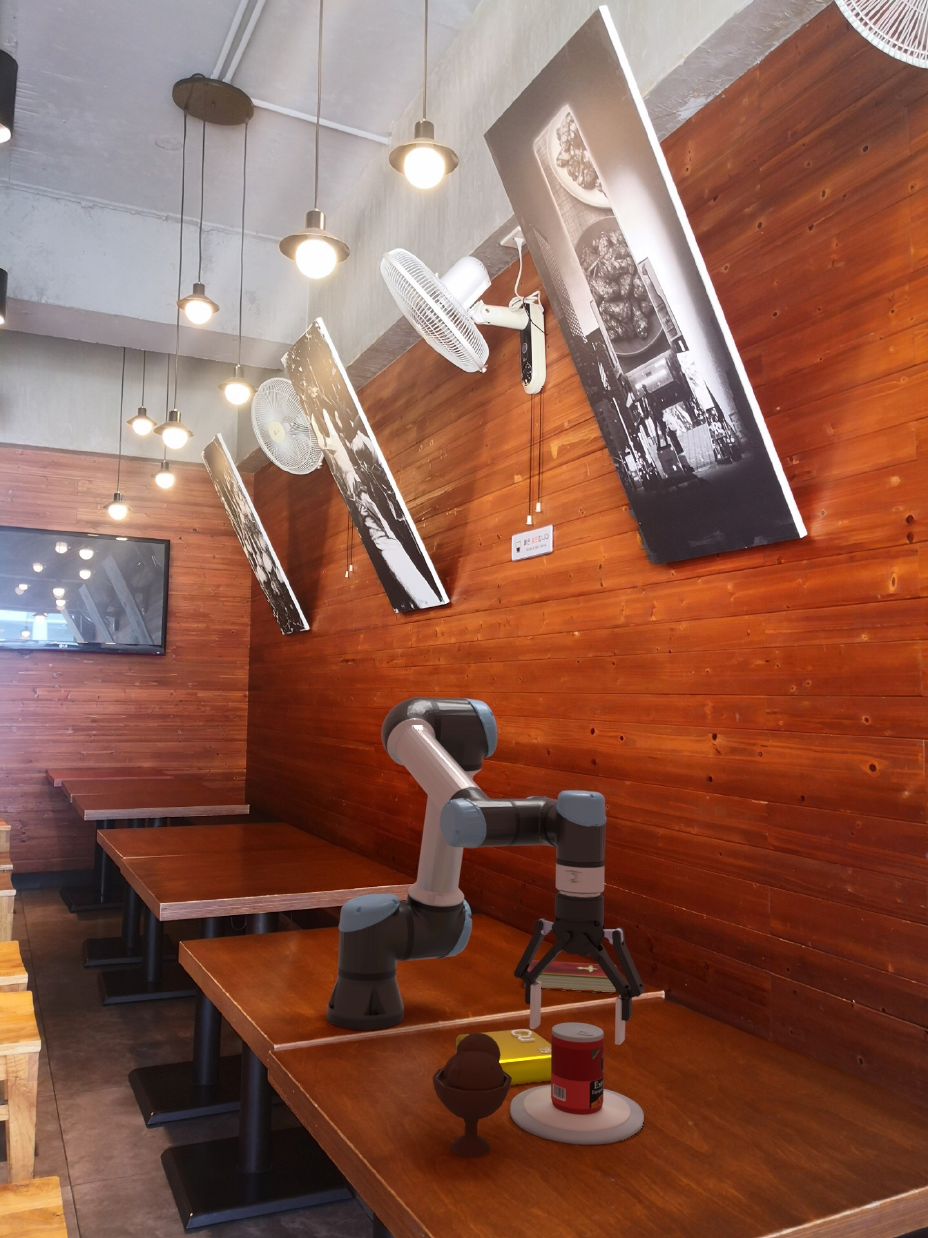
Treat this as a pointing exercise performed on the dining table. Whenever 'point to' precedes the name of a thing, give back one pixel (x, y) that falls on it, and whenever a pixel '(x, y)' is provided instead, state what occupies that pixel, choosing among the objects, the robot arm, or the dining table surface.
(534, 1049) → the element tile
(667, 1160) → the dining table surface
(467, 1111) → the ice cream bowl
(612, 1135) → the dish
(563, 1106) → the canned food
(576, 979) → the hardcover book
